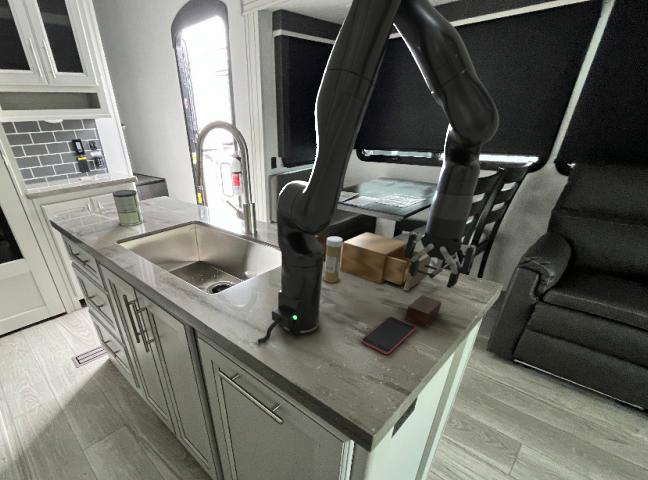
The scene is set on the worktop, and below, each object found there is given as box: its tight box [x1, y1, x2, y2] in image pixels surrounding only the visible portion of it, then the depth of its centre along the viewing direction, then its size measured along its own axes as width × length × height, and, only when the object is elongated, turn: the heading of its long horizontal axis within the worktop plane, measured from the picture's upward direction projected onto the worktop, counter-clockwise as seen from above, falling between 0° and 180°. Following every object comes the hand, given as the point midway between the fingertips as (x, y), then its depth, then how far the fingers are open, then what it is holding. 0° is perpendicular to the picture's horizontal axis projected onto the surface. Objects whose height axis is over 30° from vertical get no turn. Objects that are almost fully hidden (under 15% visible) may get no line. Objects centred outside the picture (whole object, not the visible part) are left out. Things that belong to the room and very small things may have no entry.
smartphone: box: [361, 316, 416, 355], centre depth 75 cm, size 7×1×14 cm
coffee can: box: [112, 189, 144, 227], centre depth 150 cm, size 10×10×14 cm
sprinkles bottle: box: [323, 236, 344, 283], centre depth 97 cm, size 5×5×14 cm
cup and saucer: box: [316, 235, 331, 260], centre depth 116 cm, size 12×12×6 cm
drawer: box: [382, 247, 444, 291], centre depth 97 cm, size 18×12×8 cm
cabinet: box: [339, 231, 408, 285], centre depth 104 cm, size 15×14×10 cm
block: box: [404, 294, 442, 328], centre depth 81 cm, size 5×8×4 cm, turn 134°
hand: (430, 280), depth 77 cm, fingers open, 8 cm apart
